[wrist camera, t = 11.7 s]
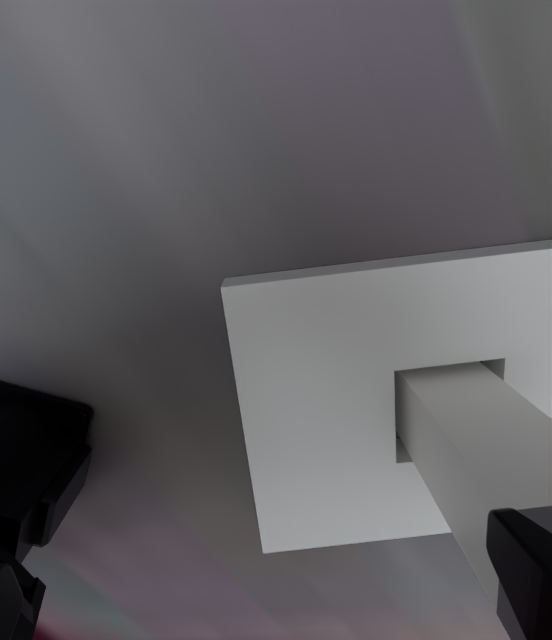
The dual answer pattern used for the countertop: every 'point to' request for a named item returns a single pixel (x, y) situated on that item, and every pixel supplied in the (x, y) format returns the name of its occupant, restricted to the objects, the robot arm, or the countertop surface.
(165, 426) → the countertop surface
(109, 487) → the countertop surface
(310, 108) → the countertop surface
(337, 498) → the socket
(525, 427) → the plug
